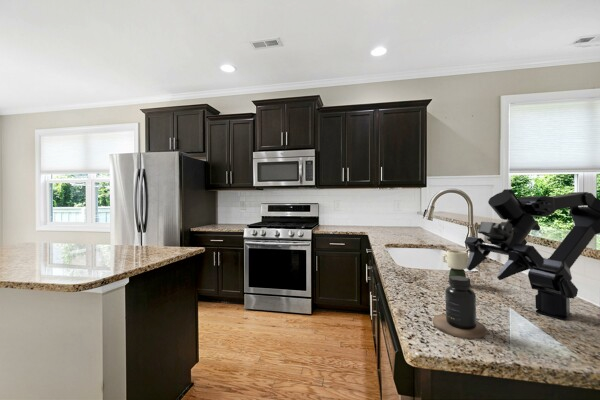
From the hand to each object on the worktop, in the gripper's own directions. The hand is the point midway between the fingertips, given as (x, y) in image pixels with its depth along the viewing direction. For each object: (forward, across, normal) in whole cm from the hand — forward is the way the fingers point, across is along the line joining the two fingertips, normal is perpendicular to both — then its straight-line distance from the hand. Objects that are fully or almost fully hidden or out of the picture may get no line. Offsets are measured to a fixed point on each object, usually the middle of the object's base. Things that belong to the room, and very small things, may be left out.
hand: (482, 273), depth 73 cm
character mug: (-5, -30, +24) cm, 39 cm away
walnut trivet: (+15, 0, +4) cm, 16 cm away
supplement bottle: (+14, +1, +3) cm, 15 cm away
